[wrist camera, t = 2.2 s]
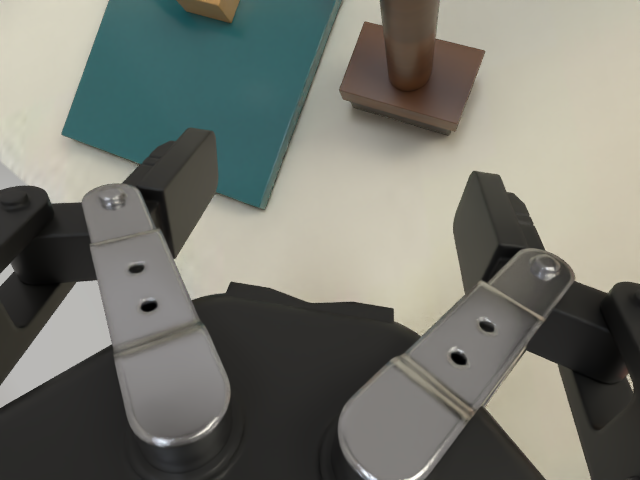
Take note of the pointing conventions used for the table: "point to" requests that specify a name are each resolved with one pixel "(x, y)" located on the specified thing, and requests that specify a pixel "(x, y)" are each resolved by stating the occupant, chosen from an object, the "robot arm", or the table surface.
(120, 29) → the tile
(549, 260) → the robot arm
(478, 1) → the table surface
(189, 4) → the orange square block
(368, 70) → the brown post on base
